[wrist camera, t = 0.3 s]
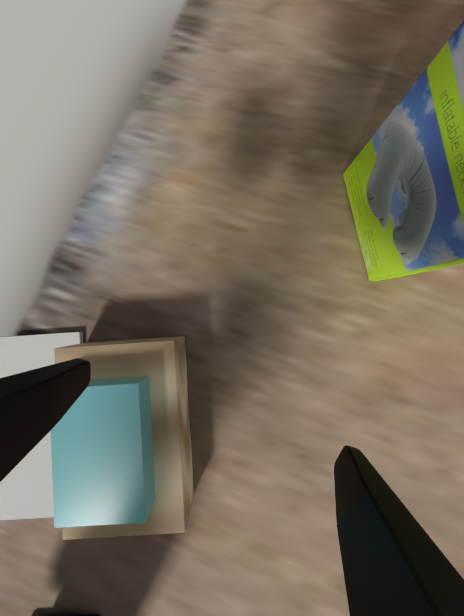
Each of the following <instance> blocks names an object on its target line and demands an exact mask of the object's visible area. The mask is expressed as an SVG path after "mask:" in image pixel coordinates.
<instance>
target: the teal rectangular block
mask: <svg viewBox="0 0 464 616" xmlns="http://www.w3.org/2000/svg"><path fill="white" fill-rule="evenodd" d="M50 432H51V455H52V479H53V502H54V526H55V528H60V527H77V526H94V525H111V524H128V523H145V522H146V521H147V519H148V516H149V514H150V512H151V509H152V507H153V505H154V502H155V500H156V494H155V476H154V458H153V440H152V422H151V403H150V385H149V376H140V377H124V378H108V379H93V380H90V383H89V385H88V387H87V388H86V389H85V390H84V392H83V393H82V394H81V395H80V397H79V398H78V399H77V400H76V401H75V403H74V404H73V405H72V406H71V408H70V409H69V410H68V411H67V412H66V414H65V415H64V416H63V417H62V419H61V420H60V421H59V422H58V423H57V424H56V425H55V426H54V427H53V429H52V430H51V431H50Z"/></svg>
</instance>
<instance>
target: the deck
mask: <svg viewBox="0 0 464 616" xmlns="http://www.w3.org/2000/svg"><path fill="white" fill-rule="evenodd" d="M54 353H55V364H57V363H60V362H64V361H68V360H72V359H76V358H81V359H84V360H87V361H89V362H90V364H91V379H90V380H93V379H108V378H124V377H140V376H149V385H150V403H151V422H152V440H153V458H154V476H155V494H156V500H155V502H154V505H153V507H152V509H151V512H150V514H149V516H148V519H147V521H146V522H145V523H128V524H111V525H94V526H77V527H62V538H63V540H69V539H86V538H104V537H121V536H138V535H155V534H172V533H185V531H186V526H187V522H188V517H189V513H190V509H191V504H192V500H193V495H194V484H193V467H192V450H191V433H190V416H189V400H188V383H187V366H186V349H185V336H177V337H162V338H147V339H131V340H116V341H101V342H86V343H81V344H75V345H70V346H64V347H59V348H54Z"/></svg>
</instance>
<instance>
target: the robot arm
mask: <svg viewBox="0 0 464 616" xmlns="http://www.w3.org/2000/svg"><path fill="white" fill-rule="evenodd" d="M90 379H91V364H90V362H89V361H87V360H84V359H81V358H76V359H72V360H68V361H64V362H60V363H57V364H53V365H49V366H45V367H41V368H37V369H34V370H30V371H26V372H22V373H18V374H14V375H10V376H7V377H3V378H0V482H1V481H2V480H3V479H4V478H5V477H6V476H7V475H8V474H9V473H10V472H11V471H12V470H13V469H14V468H15V467H16V466H17V465H18V464H19V463H20V461H21V460H22V459H23V458H24V457H25V456H26V455H27V454H28V453H29V452H30V451H31V450H32V449H33V448H34V447H35V446H36V445H37V444H38V443H39V442H40V441H41V440H42V439H43V438H44V437H45V436H46V435H47V434H48V433H49V432H50V431H51V430H52V429H53V427H54V426H55V425H56V424H57V423H58V422H59V421H60V420H61V419H62V417H63V416H64V415H65V414H66V412H67V411H68V410H69V409H70V408H71V406H72V405H73V404H74V403H75V401H76V400H77V399H78V398H79V397H80V395H81V394H82V393H83V392H84V390H85V389H86V388H87V387H88V385H89V383H90ZM334 479H335V499H336V518H337V529H338V537H339V544H340V550H341V557H342V564H343V571H344V578H345V585H346V591H347V598H348V605H349V612H350V616H464V579H463V578H462V577H461V576H460V574H459V573H458V572H457V571H456V569H455V568H454V567H453V566H452V564H451V563H450V562H449V561H448V559H447V558H446V557H445V556H444V554H443V553H442V552H441V551H440V549H439V548H438V547H437V546H436V544H435V543H434V542H433V541H432V539H431V538H430V537H429V536H428V534H427V533H426V532H425V531H424V529H423V528H422V527H421V526H420V524H419V523H418V522H417V521H416V519H415V518H414V517H413V516H412V514H411V513H410V512H409V511H408V509H407V508H406V507H405V506H404V504H403V503H402V502H401V501H400V499H399V498H398V497H397V496H396V494H395V493H394V492H393V491H392V489H391V488H390V487H389V486H388V484H387V483H386V482H385V481H384V479H383V478H382V477H381V476H380V474H379V473H378V472H377V471H376V469H375V468H374V467H373V466H372V464H371V463H370V462H369V461H368V459H367V458H366V457H365V456H364V455H363V453H362V452H361V451H360V450H359V449H357V448H354V447H351V446H348V445H346V446H344V447H343V449H342V451H341V453H340V454H339V456H338V458H337V460H336V462H335V465H334ZM78 616H98V615H78Z"/></svg>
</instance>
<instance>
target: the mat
mask: <svg viewBox="0 0 464 616" xmlns="http://www.w3.org/2000/svg"><path fill="white" fill-rule="evenodd" d="M81 343H83V332H70V333H55V334H40V335H24V336H9V337H0V378H3V377H7V376H10V375H14V374H18V373H22V372H26V371H30V370H34V369H37V368H41V367H45V366H49V365H53V364H55V353H54V348H59V347H64V346H70V345H75V344H81ZM48 517H54V502H53V479H52V455H51V432H49V433H48V434H47V435H46V436H45V437H44V438H43V439H42V440H41V441H40V442H39V443H38V444H37V445H36V446H35V447H34V448H33V449H32V450H31V451H30V452H29V453H28V454H27V455H26V456H25V457H24V458H23V459H22V460H21V461H20V463H19V464H18V465H17V466H16V467H15V468H14V469H13V470H12V471H11V472H10V473H9V474H8V475H7V476H6V477H5V478H4V479H3V480H2V481H1V482H0V520H14V519H31V518H48Z"/></svg>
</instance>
